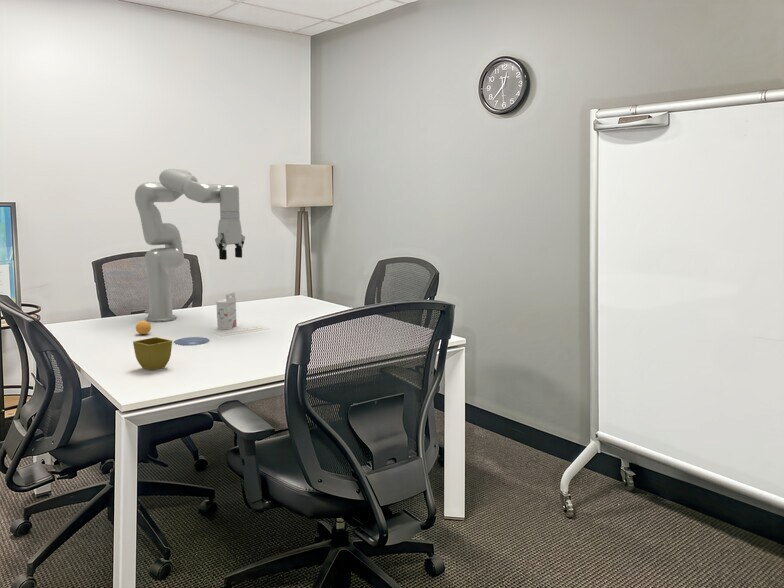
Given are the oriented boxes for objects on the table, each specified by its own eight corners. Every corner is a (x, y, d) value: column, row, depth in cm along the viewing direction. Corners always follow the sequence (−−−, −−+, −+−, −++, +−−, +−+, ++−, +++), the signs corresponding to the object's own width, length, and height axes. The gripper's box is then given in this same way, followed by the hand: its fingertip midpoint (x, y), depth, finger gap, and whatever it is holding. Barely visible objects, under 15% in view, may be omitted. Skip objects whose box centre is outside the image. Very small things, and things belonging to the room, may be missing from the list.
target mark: (166, 342, 238) (166, 342, 238) (190, 336, 249) (190, 335, 249) (192, 346, 232) (192, 346, 232) (216, 339, 244) (216, 339, 244)
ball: (133, 335, 250) (132, 321, 249) (144, 332, 255) (143, 319, 254) (143, 336, 248) (142, 322, 247) (154, 333, 253) (153, 320, 252)
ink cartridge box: (226, 325, 271) (225, 291, 268) (236, 326, 270) (236, 291, 268) (216, 329, 262) (215, 294, 260) (227, 330, 262) (226, 294, 259)
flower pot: (157, 363, 210) (156, 336, 208) (174, 367, 205) (172, 340, 203) (133, 368, 203) (132, 341, 201) (150, 373, 198) (148, 345, 196)
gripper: (236, 215, 264) (237, 256, 267) (207, 216, 249) (209, 259, 251) (250, 215, 261) (251, 257, 264) (223, 216, 246) (224, 260, 248)
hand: (231, 258), depth 258 cm, fingers open, 9 cm apart
